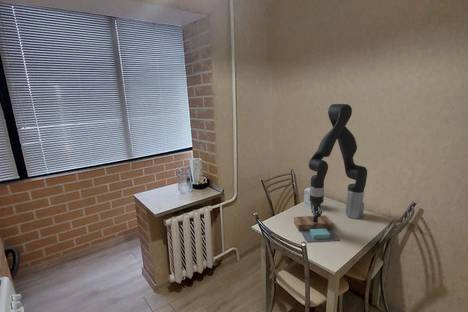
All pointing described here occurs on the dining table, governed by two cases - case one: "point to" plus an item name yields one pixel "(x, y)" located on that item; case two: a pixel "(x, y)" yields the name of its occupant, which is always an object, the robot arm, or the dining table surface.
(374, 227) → the dining table surface
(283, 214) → the dining table surface
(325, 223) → the brown wooden tray
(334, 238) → the mat
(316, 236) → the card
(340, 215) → the dining table surface
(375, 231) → the dining table surface
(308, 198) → the small box
